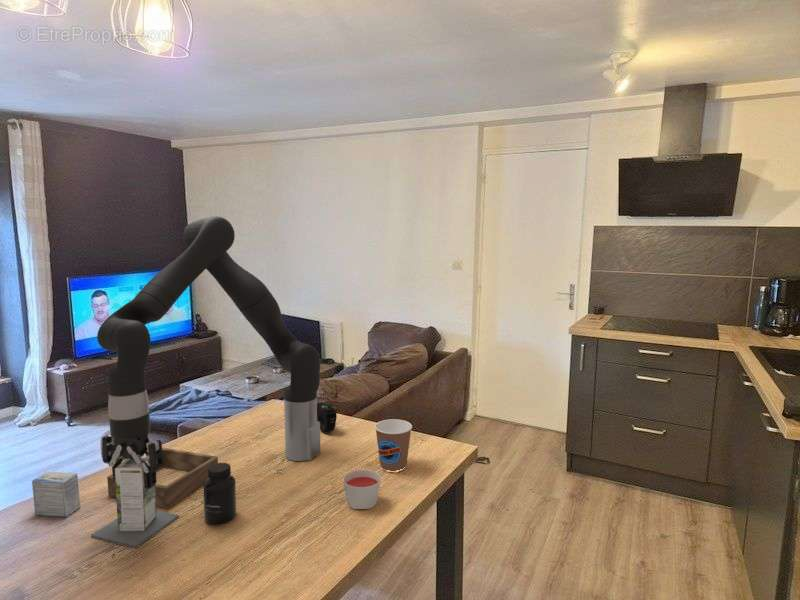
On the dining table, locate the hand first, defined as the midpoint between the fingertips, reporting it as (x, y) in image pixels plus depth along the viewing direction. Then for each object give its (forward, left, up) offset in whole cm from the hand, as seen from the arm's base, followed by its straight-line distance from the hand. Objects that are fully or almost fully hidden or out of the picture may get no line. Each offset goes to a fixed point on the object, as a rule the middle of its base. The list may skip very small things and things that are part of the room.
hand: (134, 484), depth 107 cm
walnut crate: (+8, -17, -10) cm, 21 cm away
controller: (-14, -63, -10) cm, 65 cm away
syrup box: (0, 0, -10) cm, 10 cm away
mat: (0, 0, -10) cm, 10 cm away
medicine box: (+22, +1, -10) cm, 24 cm away
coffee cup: (-44, -45, -10) cm, 64 cm away
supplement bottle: (-15, -9, -10) cm, 20 cm away
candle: (-43, -25, -10) cm, 51 cm away
